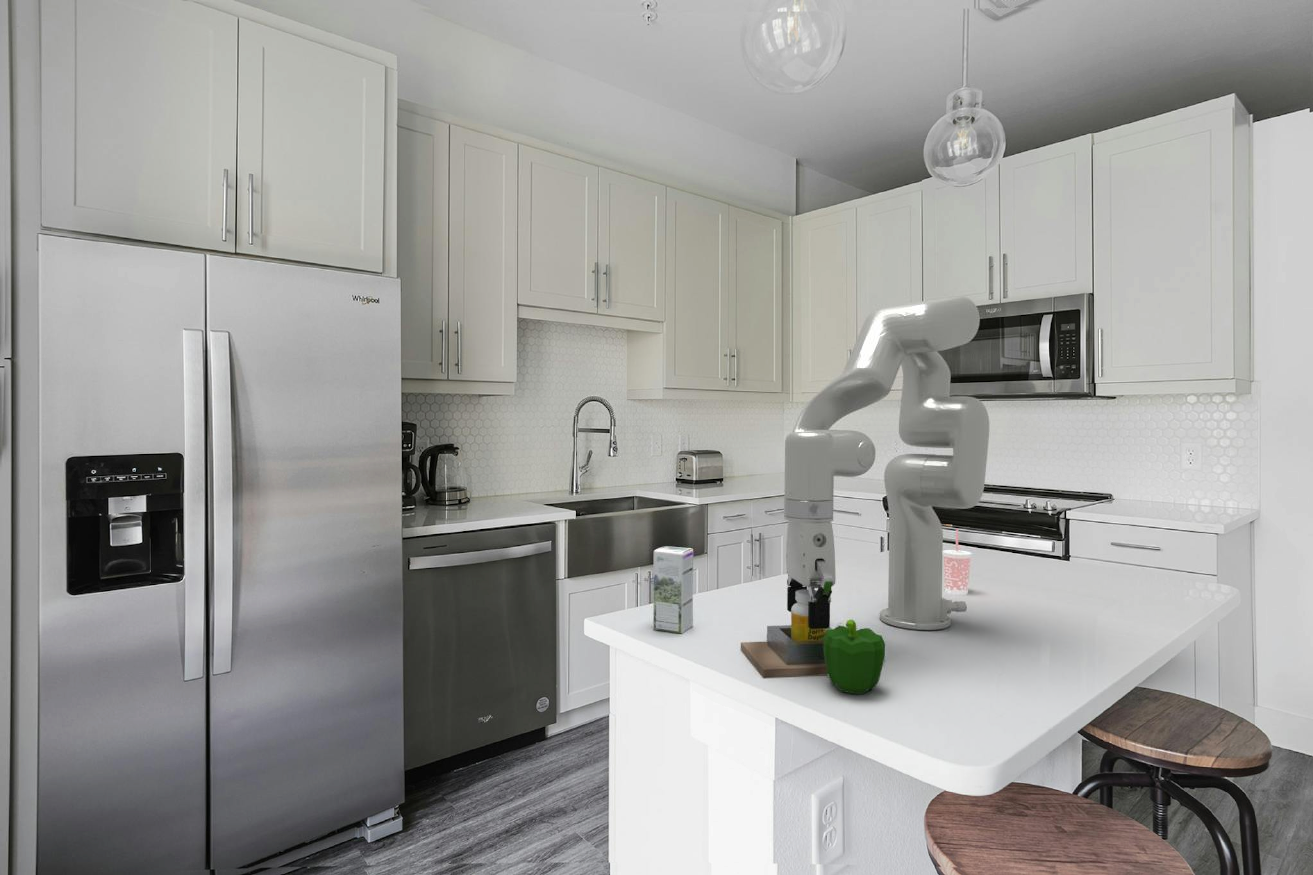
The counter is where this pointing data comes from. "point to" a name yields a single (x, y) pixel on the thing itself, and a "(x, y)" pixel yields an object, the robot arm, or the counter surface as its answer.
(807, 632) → the supplement bottle
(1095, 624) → the counter surface
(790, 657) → the socket collar
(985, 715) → the counter surface
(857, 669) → the bell pepper
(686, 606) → the syrup box
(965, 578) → the beverage cup
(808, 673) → the docking plate
